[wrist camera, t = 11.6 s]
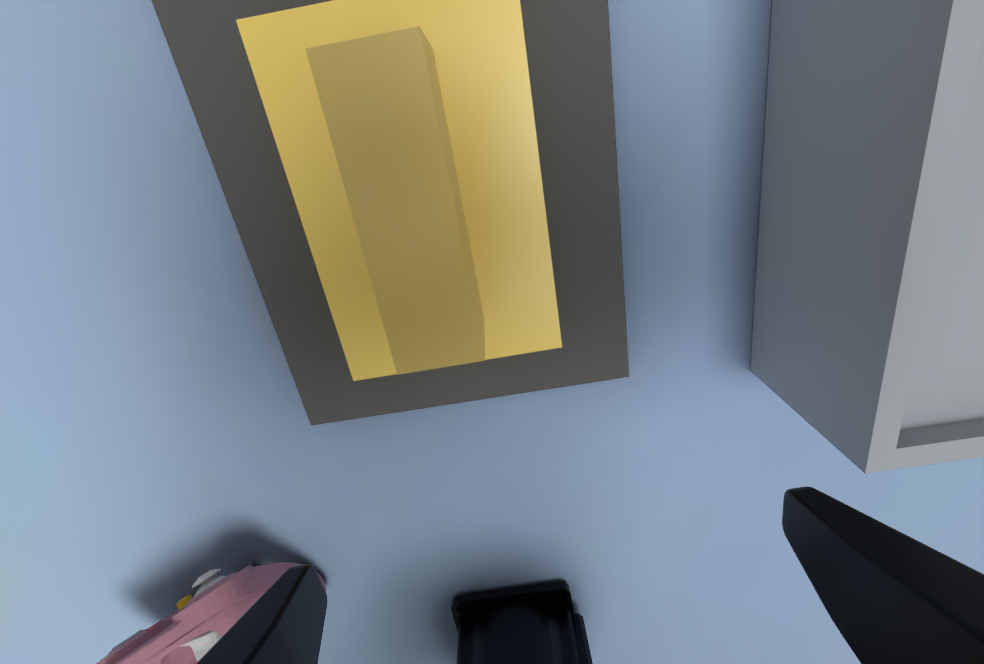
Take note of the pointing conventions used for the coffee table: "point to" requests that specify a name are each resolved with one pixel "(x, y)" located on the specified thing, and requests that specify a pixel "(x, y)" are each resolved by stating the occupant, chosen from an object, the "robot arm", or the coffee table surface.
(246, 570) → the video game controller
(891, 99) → the box
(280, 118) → the lid
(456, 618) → the robot arm
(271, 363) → the coffee table surface
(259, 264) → the mat
